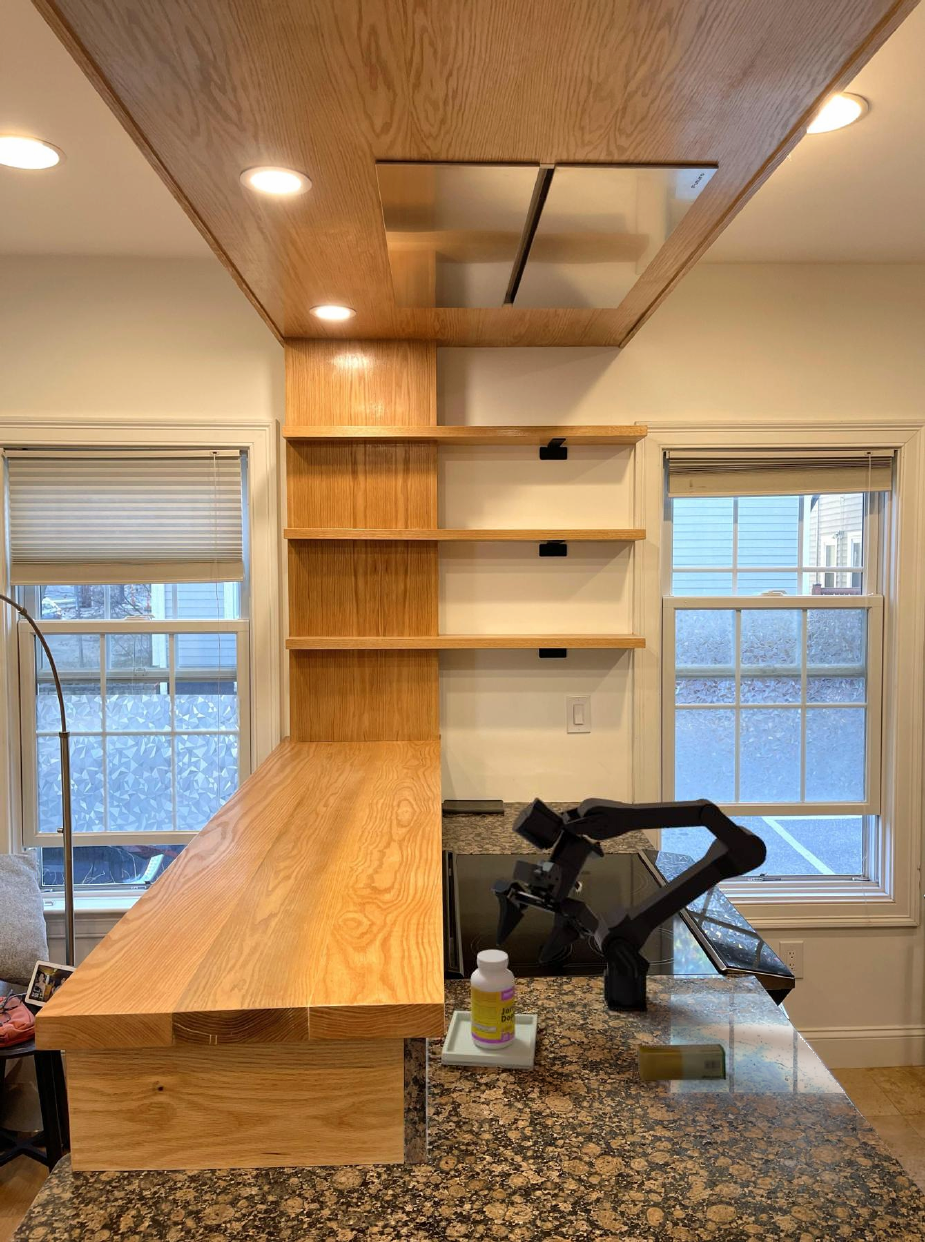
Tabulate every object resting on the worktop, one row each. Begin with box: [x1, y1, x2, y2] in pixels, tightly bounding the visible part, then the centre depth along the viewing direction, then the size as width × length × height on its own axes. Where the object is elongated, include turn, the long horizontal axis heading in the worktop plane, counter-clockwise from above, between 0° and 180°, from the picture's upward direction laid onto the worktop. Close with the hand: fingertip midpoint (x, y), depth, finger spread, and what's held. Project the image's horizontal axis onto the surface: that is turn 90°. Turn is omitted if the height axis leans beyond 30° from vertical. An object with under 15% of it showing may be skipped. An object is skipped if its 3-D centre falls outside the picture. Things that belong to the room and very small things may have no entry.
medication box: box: [637, 1043, 727, 1081], centre depth 122 cm, size 12×3×4 cm, turn 90°
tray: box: [440, 1010, 538, 1071], centre depth 131 cm, size 13×13×2 cm
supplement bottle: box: [470, 949, 516, 1049], centre depth 131 cm, size 7×7×13 cm
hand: (518, 953), depth 134 cm, fingers open, 9 cm apart
